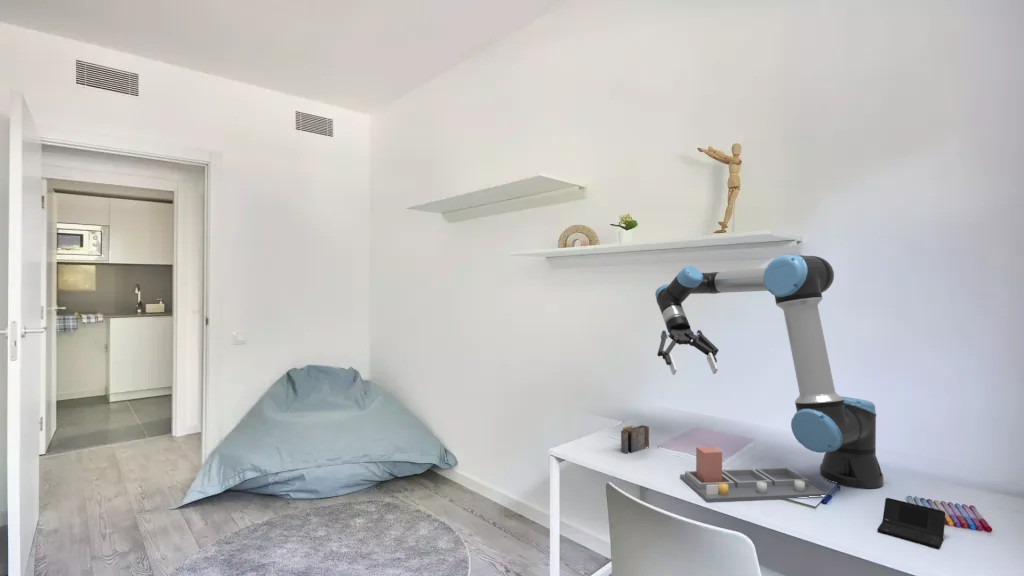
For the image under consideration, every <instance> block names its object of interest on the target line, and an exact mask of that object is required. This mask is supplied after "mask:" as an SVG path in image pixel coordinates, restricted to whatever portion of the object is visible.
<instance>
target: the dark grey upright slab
mask: <svg viewBox="0 0 1024 576" xmlns="http://www.w3.org/2000/svg"><path fill="white" fill-rule="evenodd" d="M633 426H634V425H633V424H632V425H629V426H626V427H622V430H620V431H621V432H620V449H621V450H620V453H622V454H625V455H628V454H629V451H630V453H631V454H633V453H636V452H639V451H643V450H646V449H649V448H650V426H648V425H645V424H640V425H637V426H634V427H633ZM647 447H648V448H647Z"/></svg>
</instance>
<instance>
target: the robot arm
mask: <svg viewBox="0 0 1024 576" xmlns="http://www.w3.org/2000/svg"><path fill="white" fill-rule="evenodd" d="M834 278H835V271H834V268H833V267H832V265H831V264H830V263H829V262H828V261H827V260H826V259H825V258H822V257H820V256H817V255H803V254H802V255H800V254H795V253H794V254H787V255H785V254H783V255H780V256H777V257H776V258H774V259H772V260H771V261H770V262H769V263H768V265H767V266H766V267H761V268H748V269H747V268H746V269H739V270H737V269H736V270H727V271H726V270H725V271H716V272H715V271H713V272H701V271H700V270H699V269H698V268H696V267H693V266H692V265H686V266H684V267H683V268H682V269H681V271H679V272H678V273H677V275H676V276H675V277H674V278H673V280H672V281H671V282H670V283H669V284H662V285H661V286H658V287H657V289H656V290H655V292H654V293H655V294H654V295H655V299H656V303H657V305H658V308H659V310H660V312H661V315H662V318H663V321H664V325H665V327H666V329H667V331H666V330H662V332H661V333H660V344H659V346H658V351H657V353H656V355H657V356H658V358H659V357H662V359H663V360H664V361H665V364H666V365H667V366H669V368H670V371H671V374H672V375H673V376H676V373H677V371H678V368H677V365H676V362H675V360H674V356H673V355H672V353H671V351H672V350H673V349H674V347H675V346H676V345H679V346H680V345H689V346H691V347H694V348H695V349H696V350H699V351H700V352H701V353H703V354H704V355H706V356H707V357H706V360H707V362H708V365H709V367H710V369H711V372H712V374H713V375H715V374H717V372H718V370H719V368H718V365H717V362H718V360H717V357H716V356H717V354H718V352H719V348H718V347H717V346H715V345H714V343H712V342H711V341H710V340H709V339H708V338H707V337H706V336H705V335H704V333H703V332H702V331H701V330H700V329H697V331H694V332H693V330H692V328H691V325H690V322H689V321H688V320H689V319H688V318H687V315H686V312H685V310H684V308H683V306H682V305H683V302H684V301H686V299H687V298H688V297H689V296H690V295H692V294H694V295H699V294H700V295H701V294H708V295H710V294H712V295H713V294H714V295H715V294H716V295H717V294H727V293H743V292H744V293H745V292H746V293H747V292H765V291H767V292H769V293H770V294H771V295H773V296H774V300H775V305H776V306H777V307H778V308H780V309H782V311H783V314H784V320H785V326H786V330H787V337H788V341H789V345H790V351H791V355H792V356H791V357H792V360H793V365H794V371H795V378H796V382H797V388H798V392H799V395H798V397H797V398H796V399H795V401H794V403H795V408H796V412H795V413H794V415H793V416H792V418H791V421H790V425H791V426H790V427H791V431H792V432H791V433H792V434H793V436H794V438H795V439H796V441H797V442H798V443H799V445H802V446H803V447H804V448H805V449H807V450H809V451H811V452H815V453H818V454H819V453H822V454H823V453H824V456H823V459H822V462H821V463H820V466H819V474H821V475H820V476H821V477H822V476H823V477H824V479H825V478H826V480H827V479H828V480H827V481H829V480H831V481H834V482H837V483H838V485H840V486H841V485H842V486H846V487H851V488H858V489H878V488H882V487H883V485H884V475H883V472H882V469H881V466H880V462H879V461H878V457H877V455H876V454H877V453H876V452H877V451H876V450H877V448H876V444H877V443H876V442H877V441H876V439H877V438H876V437H877V436H876V435H877V433H876V431H877V426H876V425H877V423H876V422H877V420H876V419H877V413H876V406H875V405H876V404H875V403H873V402H872V401H870V400H866V399H860V398H854V397H848V396H841V395H839V394H838V393H837V392H836V389H835V384H834V379H833V375H832V370H831V364H830V361H829V360H830V359H829V356H828V349H827V345H826V340H825V336H824V331H823V325H822V320H821V317H820V316H821V315H820V312H819V305H820V302H821V301H822V300H823V295H822V293H824V292H826V291H827V290H828V289H829V288H831V286H832V284H833V282H834ZM668 338H670V340H671V342H670V344H669V345H668V346H667V348H666V349H665V350H664V348H665V345H666V344H665V343H666V341H667V339H668ZM823 477H822V478H823ZM831 481H830V482H831ZM834 482H833V483H834ZM837 483H836V484H837Z"/></svg>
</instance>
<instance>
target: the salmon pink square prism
mask: <svg viewBox="0 0 1024 576" xmlns="http://www.w3.org/2000/svg"><path fill="white" fill-rule="evenodd" d="M695 455H696V456H695V458H696V459H695V461H696V462H695V463H696V464H695V465H696V467H695V471H696V478H697V479H698V480H699V481H700V482H701V483H710V482H722V470H723V452H722V451H721V450H720V449H718V448H716V447H714V446H696V447H695Z"/></svg>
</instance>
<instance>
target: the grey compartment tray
mask: <svg viewBox="0 0 1024 576" xmlns="http://www.w3.org/2000/svg"><path fill="white" fill-rule="evenodd" d="M679 477H680V480H682V481H683V482H684V483H685V484H686V485H688V486H689V488H690V489H692V490H693V491H694V492H695V493H696V494H698V496H699V497H701V498H702V499H703V500H704V501H706V503H724V502H725V503H726V502H747V501H748V502H750V501H752V502H753V501H768V500H769V501H772V500H773V501H774V500H788V499H787V498H798V497H809V496H821V495H826V496H827V493H826V492H824V491H822V490H821V489H819V488H817V487H816V486H814V485H812V484H811V483H810V479H808V478H806V477H804V476H803V475H802V474H800V473H797V472H796V471H794V470H792V469H791V468H789V467H765V468H755V469H753V468H742V469H741V468H739V469H737V468H735V469H722V482H710V483H701V482H700V481H699V480H698V479H697V478H696V470H689V471H688V470H686V471H684V473H682V474H680V475H679Z"/></svg>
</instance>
